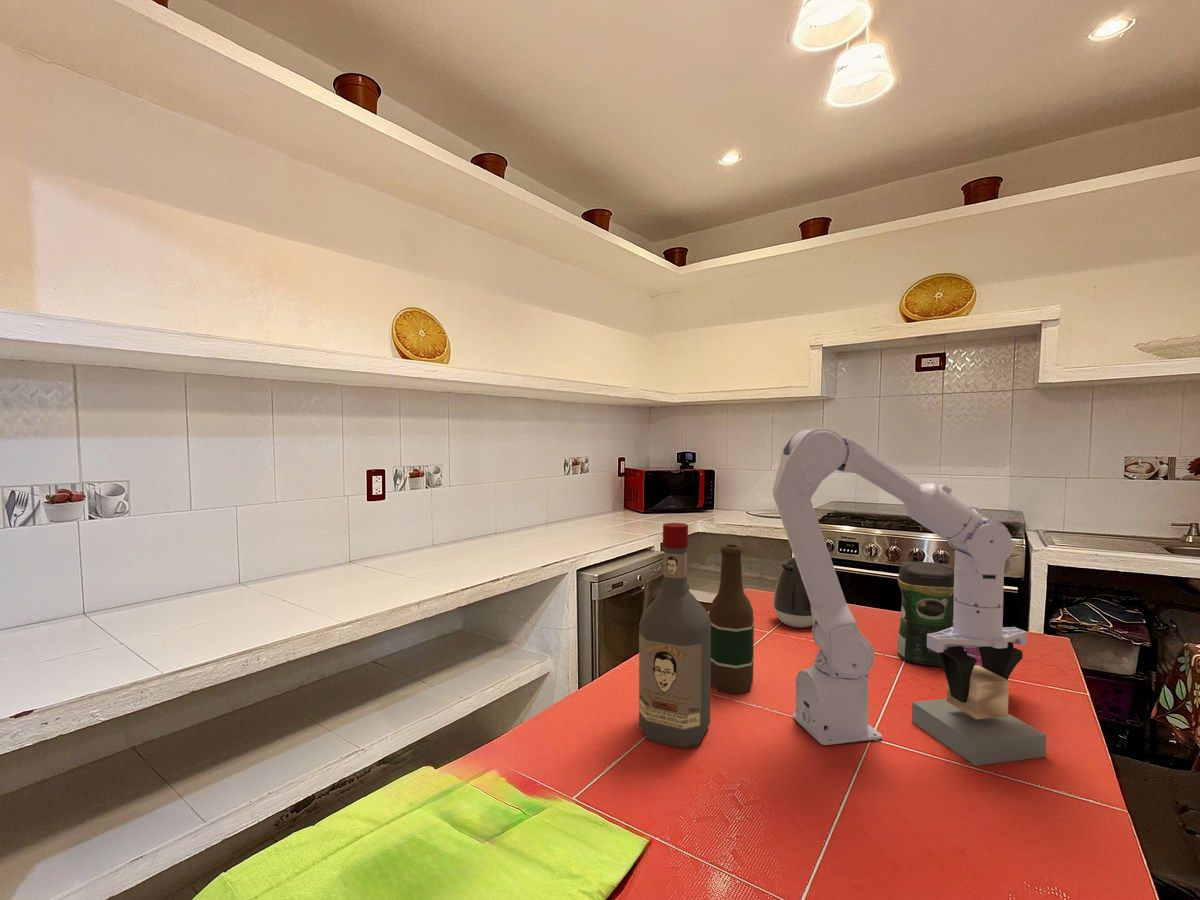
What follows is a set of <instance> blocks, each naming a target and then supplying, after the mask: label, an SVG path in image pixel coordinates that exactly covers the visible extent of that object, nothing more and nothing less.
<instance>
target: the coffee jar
mask: <svg viewBox="0 0 1200 900" xmlns="http://www.w3.org/2000/svg"><path fill="white" fill-rule="evenodd" d="M897 584H898V587H899V589H900V594H901V610H900V618H899V626H898V627H899V628H898V635H897V636H898V637H897V652H898V655H899V656H900V657H901V658H903V659H904V660H906V661H908V662H909V663H910V662H911V663H914V664H920V665H926V666H927V665H928V666H937V667H939V666H940V667H942V665H941V663H940V661H939V659H938V657H937V655H936V654H935V652H934V651H933V650H931V649H929V648H927V634H931V633H936V632H939V631H942V630H945V629H948V628H951V627H953V602H954V568H953V567H952V566H951V565H950V564H947V563H943V562H928V561H911V560H910V561H907V560H905V561H904V560H903V561H901V562H900V564H899V571H898V577H897Z"/></svg>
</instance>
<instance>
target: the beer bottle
mask: <svg viewBox="0 0 1200 900" xmlns="http://www.w3.org/2000/svg"><path fill="white" fill-rule="evenodd" d="M743 552H744V551H743V548H742V546H741V545H738V544H735V543H734V544H732V543H729V544H726V543H725V544H723V545H722V546H721V548H720V553H721V567H720V579H719V583H720V584H719V588H718V593H716V596H715V597H714V598H713V599H712V601H711V604H710V607H709V610H708V614H709V617H710V619H711V687H712V688H714V689H715V690H717V691H718V692H720V693H727V694H731V695H732V694H733V695H738V694H743V693H747V692H748V693H749V692H750V691H751V689H752V685H753V682H754V655H755V654H754V649H755V648H754V645H755V642H754V640H755V639H754V638H755V637H754V636H755V633H754V631H755V627H754V626H755V623H754V622H755V619H754V610H753V609H754V608H753V606H752V604H751V601H750V600H749V598H748V597H747V595H746V593H745V590H744V585H743V572H742V570H743V568H742V555H741V554H742V553H743Z"/></svg>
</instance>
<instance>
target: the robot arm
mask: <svg viewBox="0 0 1200 900" xmlns="http://www.w3.org/2000/svg"><path fill="white" fill-rule="evenodd" d="M835 471H838V472H843V473H852V474H856V475H858V476H860V477H861V478H863V479H865V480H866V481H868V482H869V483H871V484H873V485H874V486H876V487H878V488H879V489H881V490H882V491H884V492H886V493H887V494H890V495H891V496H893V497H894V498H896V499H897V500H900V501H901V502H903V507H904V512H905V514H906V516H907V517H909V518H911V519H912V520H913V521H915V522H917V523H918V524H920V525H921V526H923V527H924V528H926V529H927V530H929V531H931V532H932V533H933V534H934V535H936V536H938V537H940V538H942V539H943V540H945V541H946V542H947V543H948V544H949V546H950V547H951V548H952V549H954V566H953V567H954V568H953V569H954V597H953V604H952V607H953V608H952V616H953V627H951V628H948V629H945V630H942V631H939V632H936V633H931V634H927V648H929V649H931V650H933V651H934V652H935V654H936V655H937V657H938V659H939V661H940V663H941V665H942V666H941V667H942V669H943V672H944V674H945V677H946V678H945V679H946V681H947V682H948V685H949V689H950V693H951V696H952V697H953V698H955V699H957V700H959V701H960V702H963V703H964V702H967V699H968V695H969V684H970V677H971V673H972V670H973V668H974V665H975V663H976V662H977V659H975V658H973V657H971V656H969V655H967V652H966V651H964V648H972V647H978V648H979V652H980V656H981V660H982V667H983V668H985V669H987V670H989V671H991V672H993V673H995V674H997V675H999V676H1001V677H1003V678H1005V679H1007V680H1009V678H1010V676H1011V674H1012V672H1013V671H1014V669H1015V668H1016V666H1017V665H1018V664H1019V663H1020V662H1021V661H1022V660H1023V656H1024V655H1023V651H1022V650H1021V649H1019V648H1016V647H1014V645H1018V646H1027V641H1028V638H1027V637H1028V632H1027V631H1025V630H1024V629H1020V628H1018V627H1016V626H1011V627H1009V626H1008V627H1007V626H1006V627H1004V626H1003V620H1004V615H1003V614H1004V588H1005V586H1004V584H1005V583H1004V582H1005V581H1004V579H1005V572H1004V571H1005V569H1006V568H1005V565H1006V562H1007V561H1006V560H1007V559H1008V558H1009V557H1010V556H1011V555H1012V553H1013V552H1014V550H1015V547H1016V541H1015V540H1013V539H1012V536H1011V533H1010V532H1009V529H1008V528H1007V526H1005V525H1004V524H1003V523H1001V522H999V521H997V520H995V519H990V518H987V517H983V515H982V514H981V513H982V509H981V508H980V507H978V506H977V505H968V504H967V503H966V502H964V501H963V500H961V499H959V498H958V497H956V496H955V495H953V494H951V492H952V491H953V489H952V488H950V487H949V486H948V485H945V484H941V483H939V484H935V483H934V482H927V483H923V484H919V483H917V482H916V481H914V480H913V479H911V478H910V477H908V476H907V475H905V474H904V473H902V472H901V471H900V470H898V469H897V468H895V467H894V466H892V465H891V464H889V462H887V461H885V460H884V459H882V458H881V457H880V456H878V455H877V454H874V453H873V452H872V451H871V450H870V449H868V448H866V447H865V446H863V445H861V444H860V443H858V442H856V441H854V440H853V439H850V438H848V437H845V436H841V435H840V434H839V433H838V432H836V431H835V430H834V429H832V428H831V429H830V428H826V427H819V428H803V429H800V430H798V431H796V432H795V433H794V434H792V436H790V438H789V439H788V441H787V442H786V443H785V445H784V446H783V448H782V449H781V451H780V461H779V464H778V468H777V473H776V476H775V480H774V483H773V488H772V495H773V500H774V502H775V506H776V507H777V511H778V513H779V516H780V517H779V518H780V519H781V521H782V525H783V528H784V531H785V534H786V536H787V540H788V543H789V546H790V548H791V551H792V554H793V557H795V560H796V563H797V566H798V569H799V572H800V575H801V578H802V581H803V583H804V586H805V589H806V592H807V595H808V598H809V601H810V604H811V613H812V616H813V625H812V630H811V631H812V638H813V641H814V643H815V644H816V646H817V647H818V648H819V650H818V652H817V654H816V655H815V658H814V664H812V665H810V667H808V668H806V669H801V670H799V671H798V673H797V675H796V678H795V712H794V713H792V718H793V719H794V720H795V721H796V722H797V723H798V724H799V725H800V726H802V727H803V728H804V730H805V731H807V733H808V734H810V735H811V736H812V738H814V739H815V740H816V741H817V742H818V743H819V744H820V745H822V746H829V745H839V744H846V743H855V742H856V743H857V742H864V741H873V740H880V739H882V738H883V735H882V733H880V732H879V731H878V730H877V729H876V728H874V727H873V726H872V725H870V724H869V674H870V673H869V672H870V670H871V669H872V668H873V665H874V663H875V659H876V658H875V656H876V655H875V651H874V647H873V646H872V643H871V642H870V641H869V640H868V639H867V638H866V637H865V636H864V635H863V634H862V633H861V630H860V629H859V626H858V623H857V621H856V619H855V616H854V615H853V613H852V611H851V609H850V607H849V605H848V604H847V601H846V598H845V595H844V591H843V589H842V587H841V584H840V581H839V577H838V575H837V572H836V569H835V566H834V564H833V560H832V556H831V555H830V553H829V549H828V547H827V543H826V540H825V538H824V535H823V532H822V528H821V526H820V523H819V521H818V517H817V515H816V511H815V508H814V506H813V502H812V497H813V496H814V494H815V492H816V491H817V490H818V488H819V486H820V485H821V483H822V482H823V481H824V480H825V479H827V478H828V477H829V476H830V475H832V474H833V473H834V472H835Z"/></svg>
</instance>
